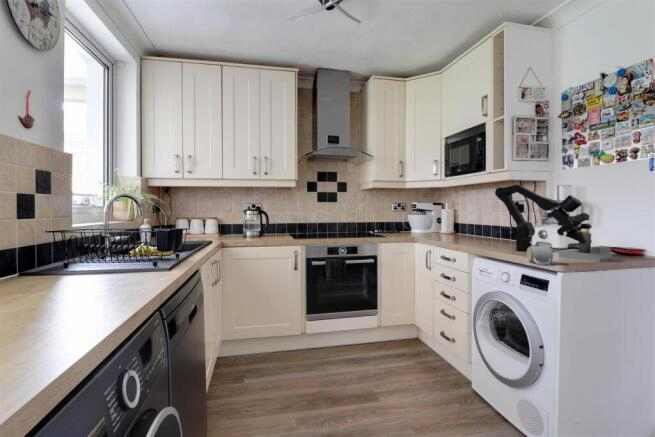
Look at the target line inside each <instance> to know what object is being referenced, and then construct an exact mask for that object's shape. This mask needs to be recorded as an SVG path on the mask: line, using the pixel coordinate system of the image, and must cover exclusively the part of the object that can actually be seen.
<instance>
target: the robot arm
mask: <svg viewBox="0 0 655 437" xmlns="http://www.w3.org/2000/svg"><path fill="white" fill-rule="evenodd" d="M516 193H518V194H520V195H521V196H523V197H524V198H527V199H529V200H531V201H532V202H534V203H535V204H536V205H537V206H538V207H539V208H540V209H541V210H542V211H543V210H544V211H548V212H547V216H546V218H547V219H554V220H555V221H556V222H558V223H557V225H558V226H560V227H559V228H558V229H557V230H556V234H558V235H559V237H560V236H562V237H563V236H564V237H567V238H570V239H573V240H575V241H577V242H578V243H579V242H581V243H586V241H585V240H584V239H583V237H582V236H581V235H580V234H579V233H581V229H589V230H591V228H592V227H593V226H592V225H591V224H590V223H583V222H585V221H589V220H590V214H588V213H586V212H582V213H579V214H576V215H572V216H571V215H569V214H568V213H569V212H570V213H573V212H574V211H576V210H577V209H578V208H580V207H581V206H582V205H583V203H582V202H581V201H580V200H579V199H577V198H576V197H574V196H573V195H568V196H567V197H566V198H565V199H564V200H563V201H561V202H560V201H559V202H557V201H556V200H554V199H552V198H549V197H545V196H541V195H540V194H539V193H536V192H534V191H532V190H531V189H528V188H526V187H525V186H523V185H522V184H513V185H510V186H509V185H508V186H505V187H503V186H499V187H496V189H495V192H494V194H495V196H496V197H497V198H498V199H499V201H501V202H503V204H504V205H505V207H506V208H507V211H508V212H509V214H510V216H511V218H512V219H513V221H514V222H515V224H516V230H517V233H516V234H514V235H513V239H514V241H515V251H517V252H527V249H528V247H532V243H531V242H530V240H531V239H532V238H533V237H534V236H535V234H536V230H535V229H536V227H535V226H534V225H533V223H532V222H531V221H530V222H529V221H526V219H525V217H523V214H522V213H521V211H520V210H519V208H518V206H517V205H516V203H515V201H514V200H513V195H514V194H516ZM549 211H550V212H549ZM565 233H566V234H565ZM592 242H593V241H592V240H591V243H592Z"/></svg>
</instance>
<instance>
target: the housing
mask: <svg viewBox="0 0 655 437" xmlns="http://www.w3.org/2000/svg"><path fill="white" fill-rule="evenodd" d="M611 247H612V246H607V245H606V246H605V245H597V246H591V252H590V253H585V252H579V249H577V248H569V249H568V248H567V249H560V250H559V251H558V252H559V253H558V257H559V258H561V257H562V258H569V259H578V260H585V261H594V262H604V261H610V260H612V252H611V250H612V249H611ZM609 259H610V260H609Z"/></svg>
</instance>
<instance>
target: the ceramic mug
mask: <svg viewBox="0 0 655 437" xmlns="http://www.w3.org/2000/svg"><path fill="white" fill-rule="evenodd" d="M553 257H554V253H553V249H552V247H551V246H550V245H531V247H528V249H527V251H526V259H527V261H528V262H530V263H533V264H536V265H539V266H549V265H550V264H552V262H553V259H554V258H553Z"/></svg>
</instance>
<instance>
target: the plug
mask: <svg viewBox="0 0 655 437" xmlns="http://www.w3.org/2000/svg"><path fill="white" fill-rule="evenodd" d="M579 234H580V235H581V236H582V237H583V239H584V240H585V241H586V243H581V242H579V241H578V250H579V252H585V253H590V252H591V247H592V244H591V243H592V242H591V241H592V233H591V232H590V229H581V233H579Z"/></svg>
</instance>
